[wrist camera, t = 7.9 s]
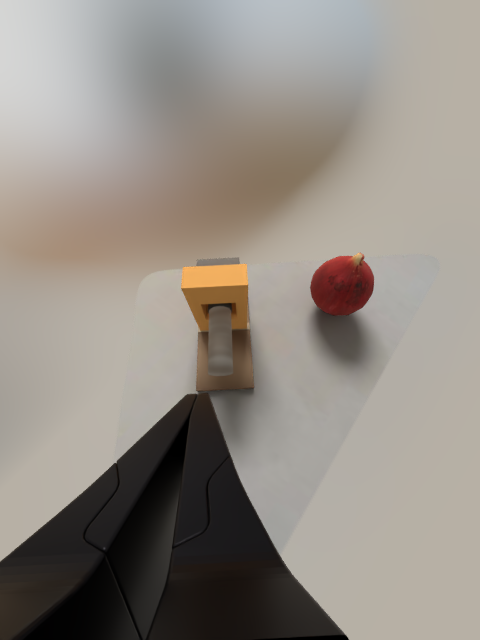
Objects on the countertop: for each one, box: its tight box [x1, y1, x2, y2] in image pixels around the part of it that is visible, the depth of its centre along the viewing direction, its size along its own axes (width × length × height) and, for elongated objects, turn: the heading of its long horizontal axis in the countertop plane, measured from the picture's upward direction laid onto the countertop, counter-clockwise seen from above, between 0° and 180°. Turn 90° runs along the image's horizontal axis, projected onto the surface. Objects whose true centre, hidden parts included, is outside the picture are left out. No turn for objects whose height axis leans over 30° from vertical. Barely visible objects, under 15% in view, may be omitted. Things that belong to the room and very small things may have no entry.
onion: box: [310, 253, 374, 315], centre depth 22 cm, size 6×6×8 cm
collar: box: [181, 264, 248, 331], centre depth 21 cm, size 2×5×8 cm, turn 93°
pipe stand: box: [196, 258, 254, 391], centre depth 21 cm, size 11×6×6 cm, turn 3°
